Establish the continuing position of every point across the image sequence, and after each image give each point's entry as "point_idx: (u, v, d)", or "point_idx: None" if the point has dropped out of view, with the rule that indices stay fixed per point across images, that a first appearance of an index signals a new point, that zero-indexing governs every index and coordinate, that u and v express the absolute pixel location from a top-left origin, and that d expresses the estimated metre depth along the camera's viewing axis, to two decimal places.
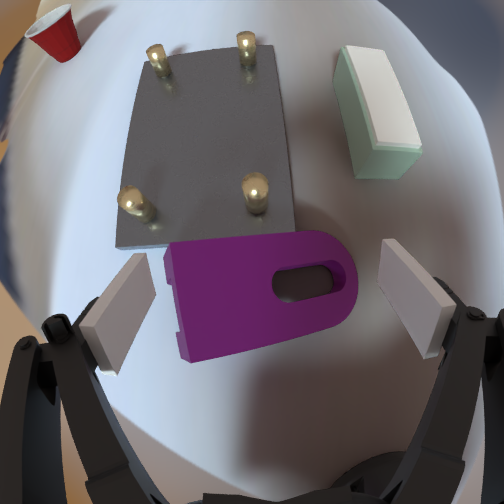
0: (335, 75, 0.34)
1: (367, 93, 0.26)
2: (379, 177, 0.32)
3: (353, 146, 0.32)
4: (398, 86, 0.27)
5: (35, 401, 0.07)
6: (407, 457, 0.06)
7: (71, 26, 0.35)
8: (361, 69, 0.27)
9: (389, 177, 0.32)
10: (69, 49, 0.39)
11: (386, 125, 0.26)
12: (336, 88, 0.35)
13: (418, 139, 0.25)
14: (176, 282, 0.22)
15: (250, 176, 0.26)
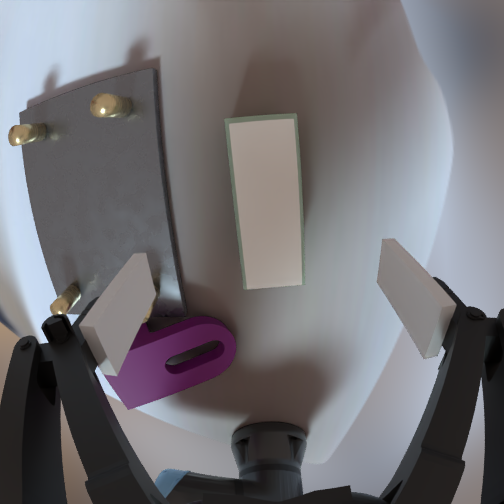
0: None
1: (244, 225, 0.25)
2: None
3: None
4: (296, 200, 0.24)
5: (35, 401, 0.07)
6: (407, 457, 0.06)
7: None
8: (244, 178, 0.24)
9: None
10: None
11: (261, 269, 0.27)
12: None
13: (299, 279, 0.27)
14: (107, 380, 0.32)
15: None
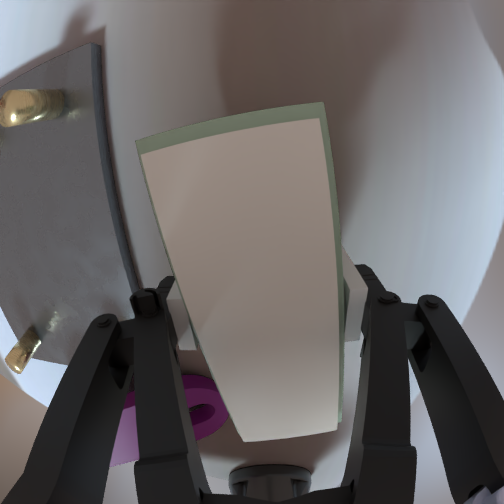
0: None
1: (221, 371, 0.11)
2: None
3: None
4: (331, 321, 0.10)
5: (101, 384, 0.08)
6: (352, 452, 0.06)
7: None
8: (203, 288, 0.10)
9: None
10: None
11: (265, 422, 0.13)
12: None
13: (333, 425, 0.13)
14: None
15: None
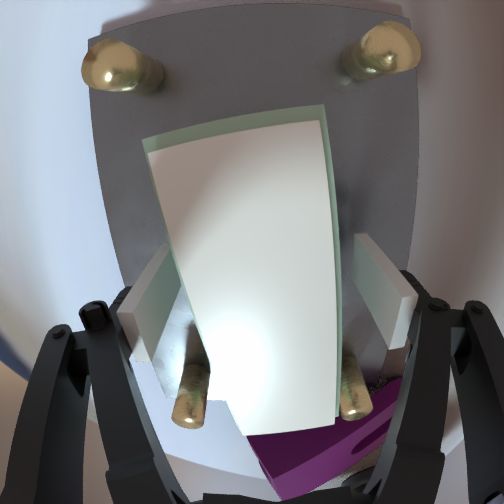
0: None
1: (222, 364, 0.12)
2: None
3: None
4: (329, 315, 0.11)
5: (63, 392, 0.07)
6: (384, 453, 0.06)
7: None
8: (206, 282, 0.10)
9: None
10: None
11: (264, 416, 0.13)
12: None
13: (330, 419, 0.14)
14: (278, 489, 0.19)
15: (354, 406, 0.18)
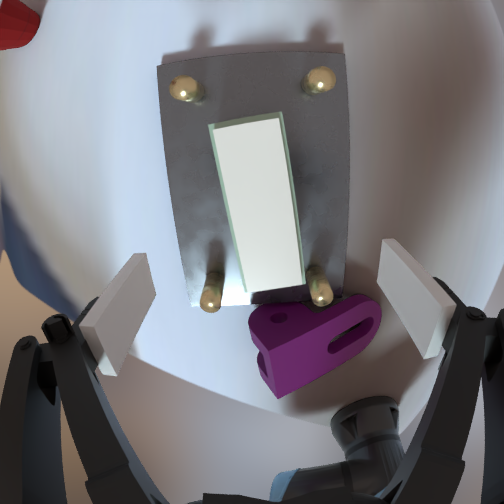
0: None
1: (238, 230, 0.25)
2: None
3: None
4: (288, 201, 0.24)
5: (35, 401, 0.07)
6: (407, 457, 0.06)
7: (16, 9, 0.15)
8: (233, 183, 0.23)
9: None
10: (26, 33, 0.21)
11: (260, 272, 0.27)
12: None
13: (299, 279, 0.27)
14: (272, 369, 0.33)
15: (320, 291, 0.31)
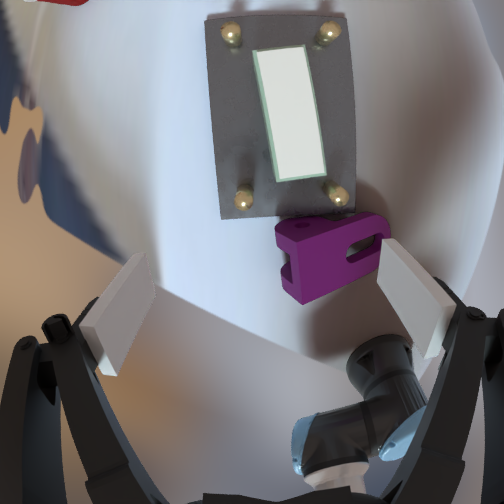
0: (253, 63, 0.32)
1: (274, 124, 0.30)
2: None
3: (269, 149, 0.37)
4: (311, 103, 0.29)
5: (35, 401, 0.07)
6: (407, 457, 0.06)
7: None
8: (271, 88, 0.28)
9: None
10: None
11: (290, 159, 0.32)
12: None
13: (322, 167, 0.32)
14: (299, 265, 0.37)
15: (337, 191, 0.36)
